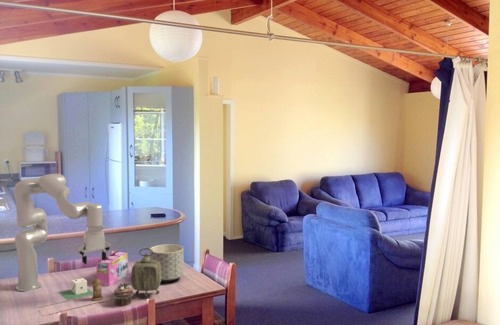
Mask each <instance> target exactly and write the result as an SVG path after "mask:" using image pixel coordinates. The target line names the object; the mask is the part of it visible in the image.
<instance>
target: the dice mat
mask: <svg viewBox="0 0 500 325" xmlns="http://www.w3.org/2000/svg"><path fill="white" fill-rule="evenodd" d="M58 294H60V295H61V296H62V297H63V298H65V300H66V301H68V300H72V299H75V300H76V299H77V298H79V299H80V298H81V297H85V296H88V297H89V296H90V295H92V296H93V290H91V289H89V288H88V287H87V292H85V293H81V294H77V295H76V294H75V293H73V292H72V289H69V290H68V289H67V290H64V291H60V292H58Z"/></svg>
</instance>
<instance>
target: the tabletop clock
mask: <svg viewBox="0 0 500 325" xmlns="http://www.w3.org/2000/svg"><path fill="white" fill-rule="evenodd" d="M143 250H144V251H145V250H149V251H150V250H151V249H150V248H147V247H145V248H141V249H140V250H139V255H140V256H142V258H141V259H139V260H137V261H135V262H134V264H133V265H132V268H131V274H130V280H131V281H130V282H131V288H132V289H133V291H135V294H136V295H138V294H139V293H140V292H145V294H144V297H145V298H147V297H148V296H149V295H148V292H152V291H155V292H156V294H160V290H158V289H159V287H160V285H161V282H162V281H161V278H162V269H161V264H160V261H157V260H151V258H150V256H151V255H152V254H153V251H152V250H151V251H152V254H150V253H149V254H148V253H145V254H142V253H141V252H142V251H143Z"/></svg>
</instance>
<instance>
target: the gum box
mask: <svg viewBox="0 0 500 325" xmlns="http://www.w3.org/2000/svg"><path fill="white" fill-rule="evenodd" d="M95 262H96V267H95V268H96V279H100V280H101V282H102V283H101V287H110V286H112V285H114V284H116V283H117V282H119V281H120V280H122V279H123V278H125V277H127V276H128V275H129V255H128V251H126V252H120V251H118V250H117V251H114V252H112V253H111V254H109V255H106V259H105V261H104V260H102V258H101V259H98V260H97V261H95Z"/></svg>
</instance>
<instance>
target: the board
mask: <svg viewBox="0 0 500 325" xmlns="http://www.w3.org/2000/svg"><path fill="white" fill-rule="evenodd" d="M88 297H93V294H92V295H88V296H83V297H79V298H75V299H70V300H64V301H61V302H55V303H51V304H47V305H42V306H39V307H35V309H36V310H37V309H38V308H40V309H41V308H45V307H48V306H52V305H54V306H55V305H57V304H61V303H66V302H70V301H75V300H78V299H83V298H88ZM109 301H113V299H111V298H109V299H106V300H100V301H96V302H94V303H93V302H92V303H89V304H85V305H81V306H77V307H73V308H69V309H64V310H59V311H56V312H52V314H51V313H48V315H47V316H51V315H55V314H59V312H60V313H63V311H64V312H66V311H72V310H76V309H79V308H83V307H87V306H91V305H95V304H101V303H106V302H109ZM54 313H55V314H54Z"/></svg>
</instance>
